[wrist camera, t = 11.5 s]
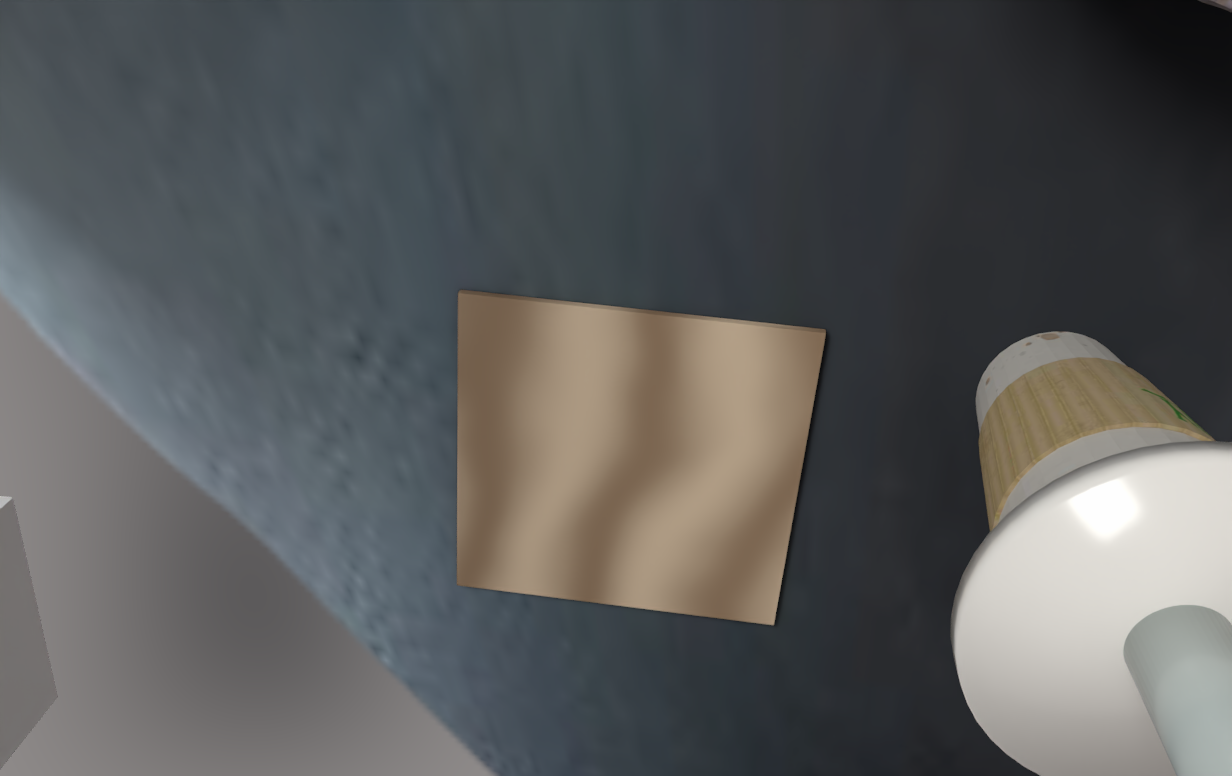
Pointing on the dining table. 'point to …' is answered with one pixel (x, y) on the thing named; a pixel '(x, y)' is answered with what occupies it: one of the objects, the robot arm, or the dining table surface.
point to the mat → (629, 453)
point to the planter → (1220, 4)
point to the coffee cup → (1064, 415)
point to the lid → (1107, 619)
